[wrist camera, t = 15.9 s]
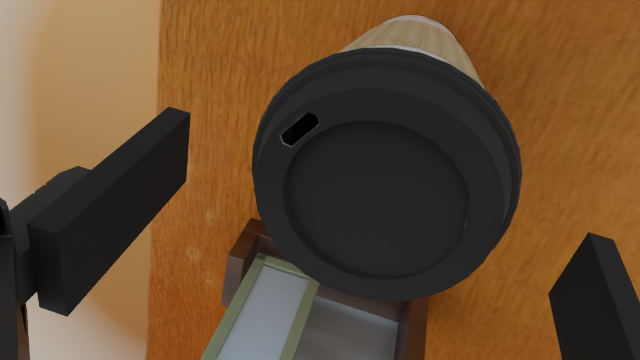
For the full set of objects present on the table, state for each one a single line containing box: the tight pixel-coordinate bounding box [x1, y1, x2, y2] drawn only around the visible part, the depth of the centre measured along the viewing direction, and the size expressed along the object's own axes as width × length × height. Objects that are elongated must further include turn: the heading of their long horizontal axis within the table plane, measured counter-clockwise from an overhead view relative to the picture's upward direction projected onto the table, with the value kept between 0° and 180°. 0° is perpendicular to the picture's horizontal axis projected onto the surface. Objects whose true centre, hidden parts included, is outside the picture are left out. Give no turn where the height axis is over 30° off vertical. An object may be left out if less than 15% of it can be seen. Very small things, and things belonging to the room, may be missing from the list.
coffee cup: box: [252, 15, 522, 301], centre depth 23 cm, size 10×10×15 cm
